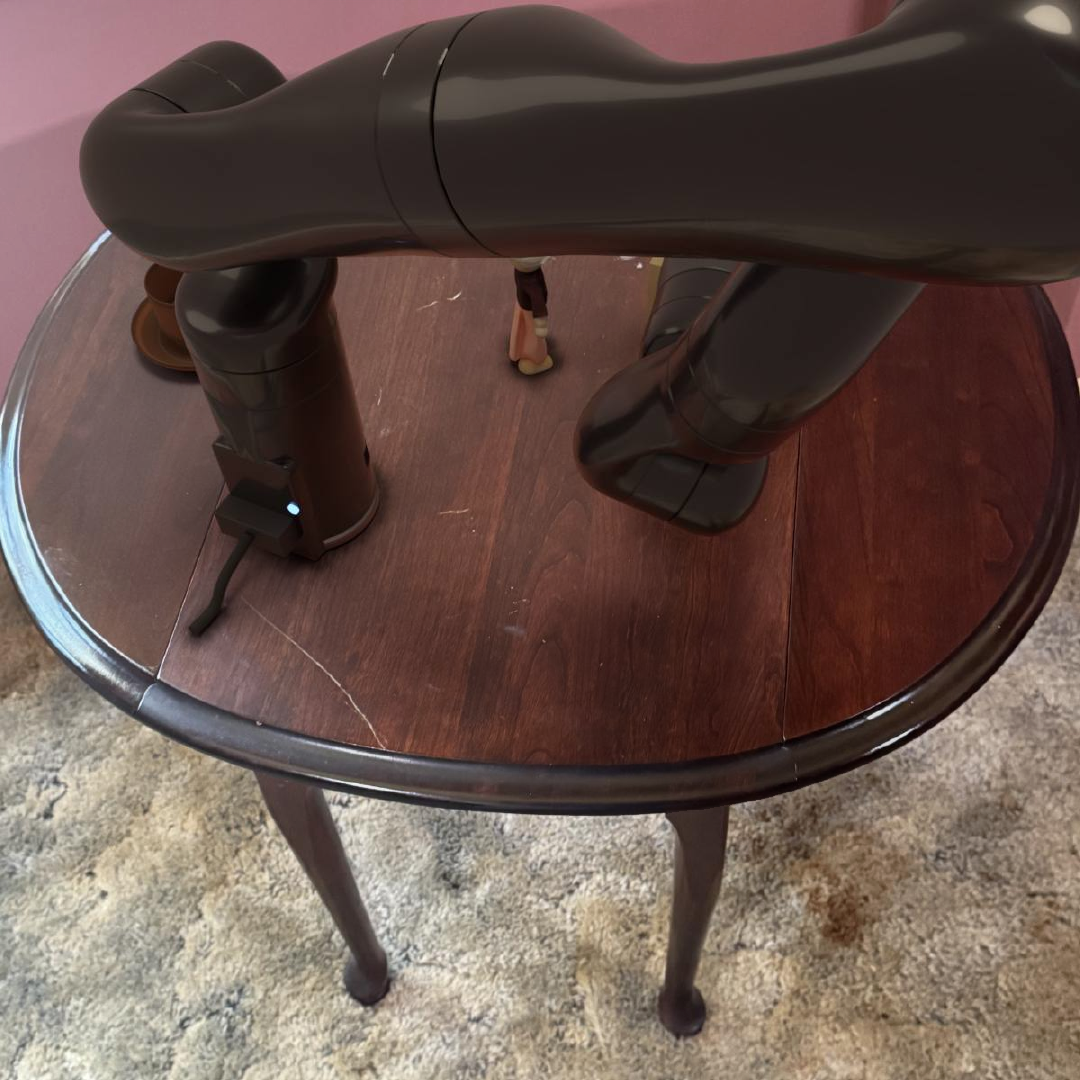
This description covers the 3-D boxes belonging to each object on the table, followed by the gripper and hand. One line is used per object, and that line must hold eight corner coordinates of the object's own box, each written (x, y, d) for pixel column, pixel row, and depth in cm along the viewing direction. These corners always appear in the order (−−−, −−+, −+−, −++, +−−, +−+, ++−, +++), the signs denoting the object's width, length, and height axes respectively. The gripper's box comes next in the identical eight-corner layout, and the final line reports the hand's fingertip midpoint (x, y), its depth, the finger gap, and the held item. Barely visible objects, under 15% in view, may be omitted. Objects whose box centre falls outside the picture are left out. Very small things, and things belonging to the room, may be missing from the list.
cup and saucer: (109, 338, 93) (83, 280, 88) (224, 268, 98) (205, 209, 93) (196, 406, 88) (173, 348, 83) (312, 328, 93) (297, 268, 88)
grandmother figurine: (494, 335, 91) (483, 205, 81) (538, 323, 92) (532, 192, 82) (527, 397, 87) (520, 267, 77) (573, 384, 88) (571, 253, 78)
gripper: (848, 235, 66) (875, 87, 76) (613, 203, 69) (668, 64, 79) (827, 332, 72) (854, 183, 82) (611, 298, 75) (663, 158, 85)
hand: (763, 125), depth 80 cm, fingers closed on supplement bottle, 5 cm apart
